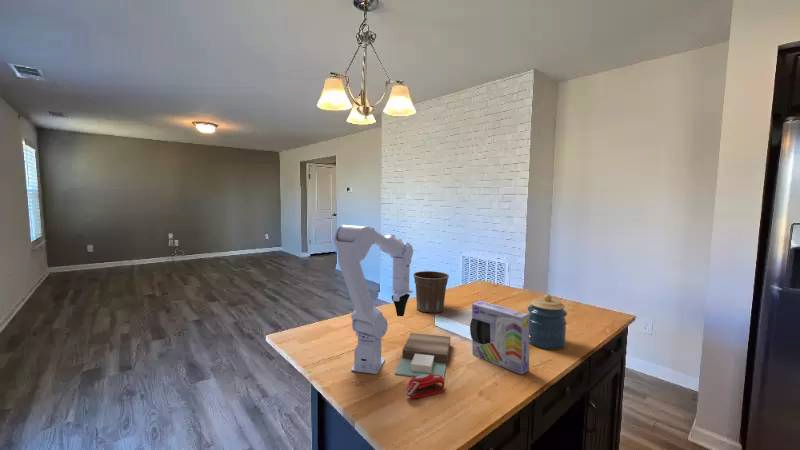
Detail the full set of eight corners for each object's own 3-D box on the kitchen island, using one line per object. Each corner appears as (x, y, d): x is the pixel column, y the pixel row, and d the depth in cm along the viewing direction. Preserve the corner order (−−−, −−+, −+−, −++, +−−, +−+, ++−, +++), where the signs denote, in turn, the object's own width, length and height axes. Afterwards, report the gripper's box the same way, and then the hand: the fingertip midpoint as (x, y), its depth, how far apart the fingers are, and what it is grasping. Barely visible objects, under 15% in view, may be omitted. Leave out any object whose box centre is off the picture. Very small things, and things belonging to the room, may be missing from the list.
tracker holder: (408, 373, 100) (442, 368, 98) (411, 390, 99) (445, 384, 98) (401, 386, 88) (440, 380, 87) (405, 405, 87) (444, 399, 86)
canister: (554, 354, 115) (556, 302, 114) (519, 341, 125) (521, 293, 124) (572, 344, 124) (574, 295, 122) (537, 332, 134) (539, 287, 132)
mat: (443, 380, 98) (443, 379, 98) (394, 374, 101) (394, 373, 101) (446, 364, 107) (446, 363, 107) (401, 359, 110) (401, 358, 110)
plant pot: (430, 301, 171) (431, 269, 170) (455, 310, 159) (456, 275, 157) (405, 308, 161) (406, 273, 159) (430, 317, 148) (431, 280, 147)
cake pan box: (468, 353, 115) (469, 301, 114) (477, 349, 118) (479, 298, 117) (520, 377, 100) (523, 317, 99) (529, 371, 104) (532, 314, 102)
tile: (430, 373, 101) (431, 366, 101) (410, 370, 102) (410, 363, 102) (434, 361, 108) (434, 355, 108) (415, 359, 109) (415, 353, 109)
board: (446, 364, 107) (446, 354, 107) (402, 358, 110) (402, 349, 110) (450, 345, 121) (450, 336, 121) (410, 341, 124) (410, 332, 124)
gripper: (408, 282, 111) (407, 324, 112) (416, 273, 125) (415, 309, 126) (386, 281, 112) (386, 322, 114) (397, 271, 127) (396, 308, 128)
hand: (400, 315), depth 120 cm, fingers closed
